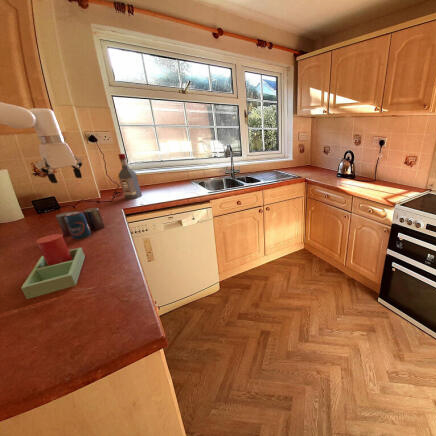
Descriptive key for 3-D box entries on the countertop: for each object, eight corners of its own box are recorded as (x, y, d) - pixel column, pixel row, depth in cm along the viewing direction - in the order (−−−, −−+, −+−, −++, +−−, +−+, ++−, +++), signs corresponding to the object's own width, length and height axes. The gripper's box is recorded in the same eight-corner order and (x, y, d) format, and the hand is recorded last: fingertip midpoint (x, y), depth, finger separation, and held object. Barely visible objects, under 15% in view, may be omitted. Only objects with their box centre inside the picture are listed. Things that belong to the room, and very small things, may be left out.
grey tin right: (89, 231, 119) (82, 212, 115) (90, 227, 124) (83, 209, 120) (104, 228, 122) (97, 210, 118) (105, 224, 127) (98, 206, 123)
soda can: (71, 241, 109) (61, 217, 105) (74, 236, 115) (64, 212, 110) (91, 237, 113) (81, 213, 108) (92, 232, 118) (83, 209, 113)
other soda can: (48, 275, 84) (33, 244, 79) (53, 266, 89) (39, 237, 85) (73, 269, 87) (60, 239, 83) (76, 260, 92) (64, 232, 88)
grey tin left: (62, 237, 114) (54, 217, 110) (65, 232, 119) (57, 213, 115) (78, 233, 117) (71, 214, 113) (80, 229, 122) (73, 211, 118)
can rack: (27, 300, 73) (20, 288, 71) (46, 266, 90) (41, 256, 88) (76, 286, 78) (71, 274, 77) (85, 257, 96) (81, 247, 94)
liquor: (131, 195, 178) (119, 153, 167) (143, 195, 178) (132, 153, 167) (123, 199, 170) (109, 155, 159) (135, 198, 169) (123, 154, 158)
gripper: (69, 138, 111) (82, 175, 118) (20, 142, 96) (38, 184, 103) (80, 138, 109) (93, 176, 115) (31, 142, 94) (49, 185, 100)
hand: (67, 180), depth 109 cm, fingers open, 9 cm apart
